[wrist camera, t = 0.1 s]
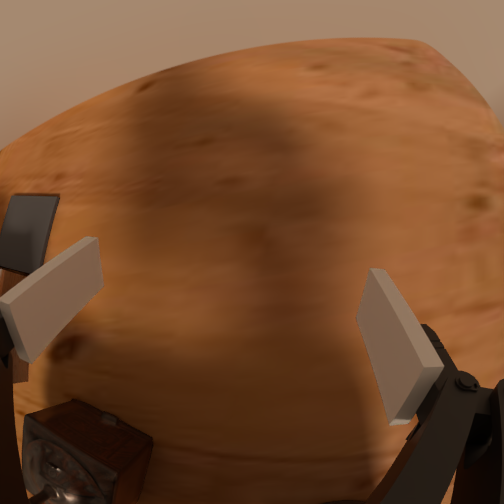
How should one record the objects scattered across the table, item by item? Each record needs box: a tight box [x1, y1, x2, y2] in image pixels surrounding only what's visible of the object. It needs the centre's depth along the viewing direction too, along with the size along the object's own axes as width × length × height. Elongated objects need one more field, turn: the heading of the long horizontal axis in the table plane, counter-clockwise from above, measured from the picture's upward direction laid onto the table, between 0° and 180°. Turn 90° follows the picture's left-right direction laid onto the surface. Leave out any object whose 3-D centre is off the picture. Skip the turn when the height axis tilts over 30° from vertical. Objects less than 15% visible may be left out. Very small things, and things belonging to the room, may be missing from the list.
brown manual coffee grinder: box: [22, 398, 153, 504], centre depth 16 cm, size 16×11×18 cm
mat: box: [0, 196, 60, 274], centre depth 31 cm, size 10×10×1 cm
